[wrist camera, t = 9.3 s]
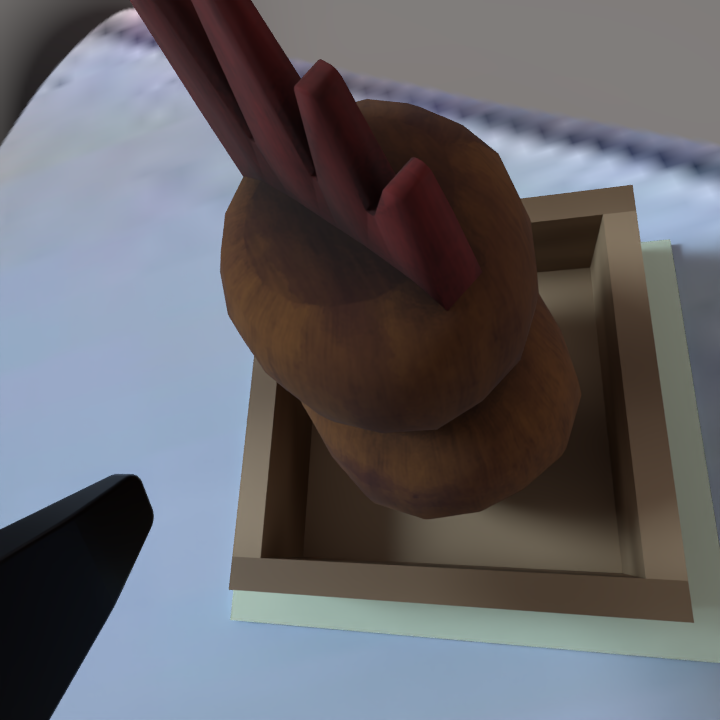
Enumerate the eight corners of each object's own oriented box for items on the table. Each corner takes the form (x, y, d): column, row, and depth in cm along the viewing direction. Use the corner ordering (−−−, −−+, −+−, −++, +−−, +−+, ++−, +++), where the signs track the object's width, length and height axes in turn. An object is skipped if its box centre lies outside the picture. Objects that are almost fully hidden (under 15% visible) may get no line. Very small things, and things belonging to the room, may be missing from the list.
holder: (655, 607, 14) (694, 622, 11) (283, 582, 17) (228, 589, 14) (612, 250, 18) (632, 185, 15) (307, 279, 21) (268, 230, 17)
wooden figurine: (328, 368, 19) (-209, -136, 5) (478, 283, 18) (340, -539, 4) (419, 559, 16) (-228, 612, 2) (599, 465, 15) (1229, -234, 2)
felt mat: (733, 662, 14) (738, 664, 13) (234, 619, 18) (230, 619, 17) (667, 244, 18) (670, 239, 17) (269, 282, 21) (266, 279, 21)
